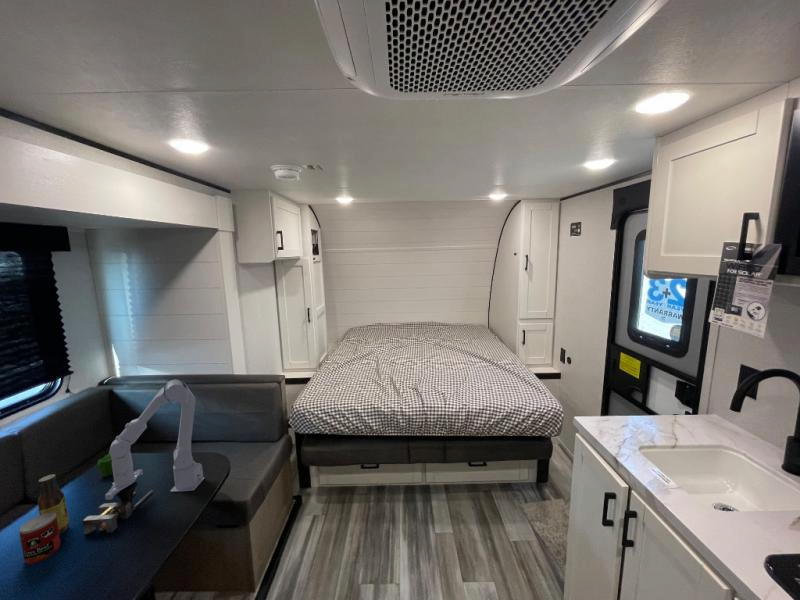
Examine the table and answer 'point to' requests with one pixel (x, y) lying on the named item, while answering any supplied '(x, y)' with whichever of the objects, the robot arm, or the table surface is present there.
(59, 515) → the sauce bottle
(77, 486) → the table surface
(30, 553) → the canned food
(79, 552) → the table surface
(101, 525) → the tube
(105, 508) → the metal clamp tool
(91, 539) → the table surface
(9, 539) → the table surface
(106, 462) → the bell pepper
